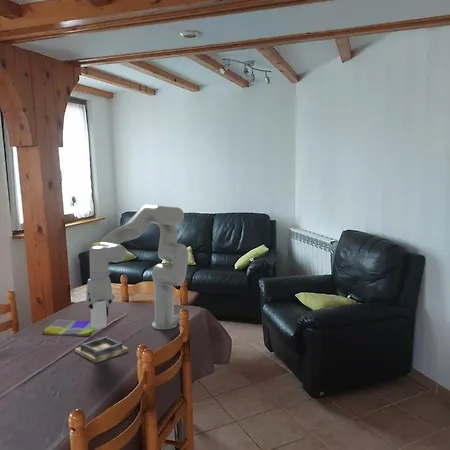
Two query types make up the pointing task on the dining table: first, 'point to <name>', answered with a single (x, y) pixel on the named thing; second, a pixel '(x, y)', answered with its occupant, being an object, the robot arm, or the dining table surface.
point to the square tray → (101, 349)
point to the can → (99, 315)
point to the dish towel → (69, 328)
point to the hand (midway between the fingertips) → (100, 316)
